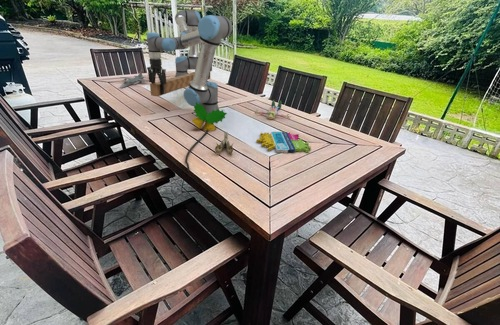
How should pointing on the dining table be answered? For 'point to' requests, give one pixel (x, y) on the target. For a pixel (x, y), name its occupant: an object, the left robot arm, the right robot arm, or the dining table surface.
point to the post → (172, 84)
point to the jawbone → (224, 145)
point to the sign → (283, 142)
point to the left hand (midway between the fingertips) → (205, 78)
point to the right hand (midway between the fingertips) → (158, 93)
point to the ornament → (207, 117)
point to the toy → (273, 111)
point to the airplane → (133, 80)
